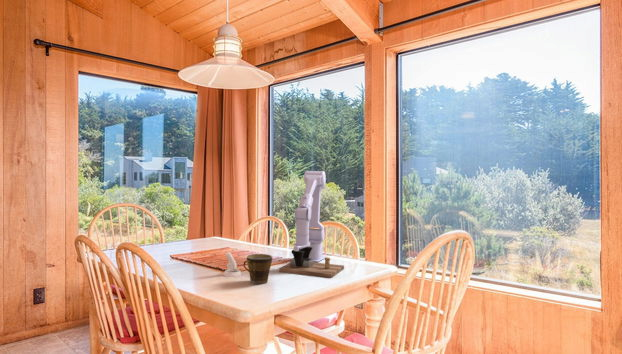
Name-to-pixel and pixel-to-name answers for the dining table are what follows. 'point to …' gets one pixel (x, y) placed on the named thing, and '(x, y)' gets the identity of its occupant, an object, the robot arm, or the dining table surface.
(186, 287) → the dining table surface
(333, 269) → the keeper board
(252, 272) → the ceramic cup
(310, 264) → the silver rectangular frame
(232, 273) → the hook
